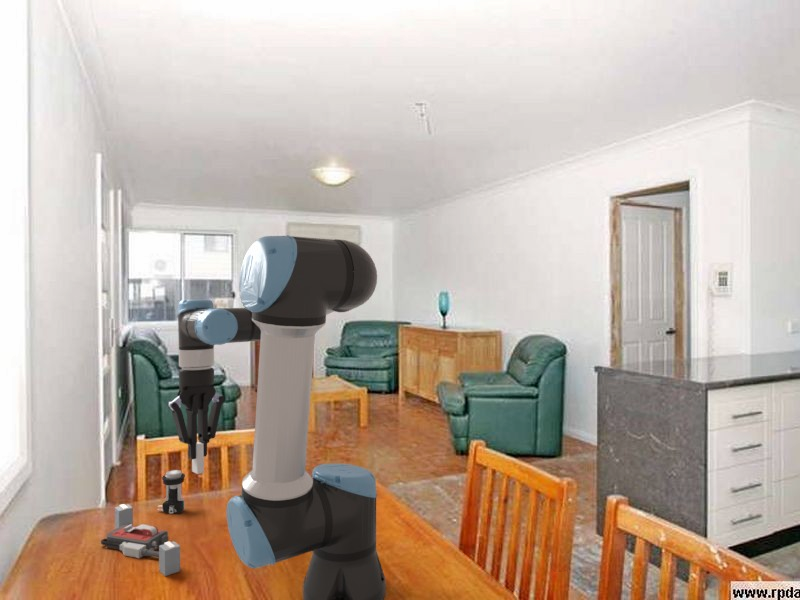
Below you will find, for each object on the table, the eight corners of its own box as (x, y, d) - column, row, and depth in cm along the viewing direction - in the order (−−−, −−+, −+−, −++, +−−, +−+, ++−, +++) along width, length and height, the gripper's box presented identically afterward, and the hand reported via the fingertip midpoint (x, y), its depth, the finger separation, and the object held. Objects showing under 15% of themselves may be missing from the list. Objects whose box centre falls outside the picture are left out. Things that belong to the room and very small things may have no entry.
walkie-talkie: (92, 552, 120) (170, 566, 114) (92, 532, 119) (170, 544, 114) (123, 535, 128) (198, 547, 122) (123, 516, 128) (198, 527, 122)
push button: (153, 515, 138) (152, 475, 138) (162, 507, 143) (162, 468, 143) (180, 516, 138) (179, 475, 138) (188, 507, 143) (188, 468, 143)
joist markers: (180, 570, 111) (180, 544, 111) (165, 576, 109) (164, 549, 109) (128, 524, 133) (128, 502, 133) (114, 528, 131) (114, 506, 130)
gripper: (215, 364, 134) (216, 462, 134) (160, 369, 124) (162, 475, 124) (231, 366, 128) (232, 469, 128) (175, 371, 119) (176, 482, 119)
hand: (197, 471), depth 126 cm, fingers closed
